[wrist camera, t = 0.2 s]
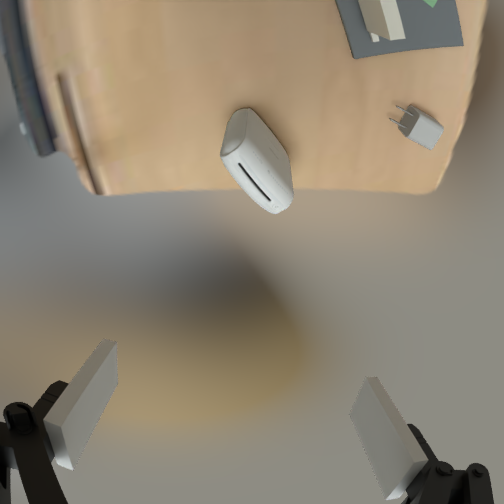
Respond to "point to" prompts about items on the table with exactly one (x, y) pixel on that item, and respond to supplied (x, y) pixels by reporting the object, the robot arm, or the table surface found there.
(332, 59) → the table surface
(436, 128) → the usb wall charger
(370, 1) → the cream slab with knob
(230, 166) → the photo printer
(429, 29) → the gray rectangular board
